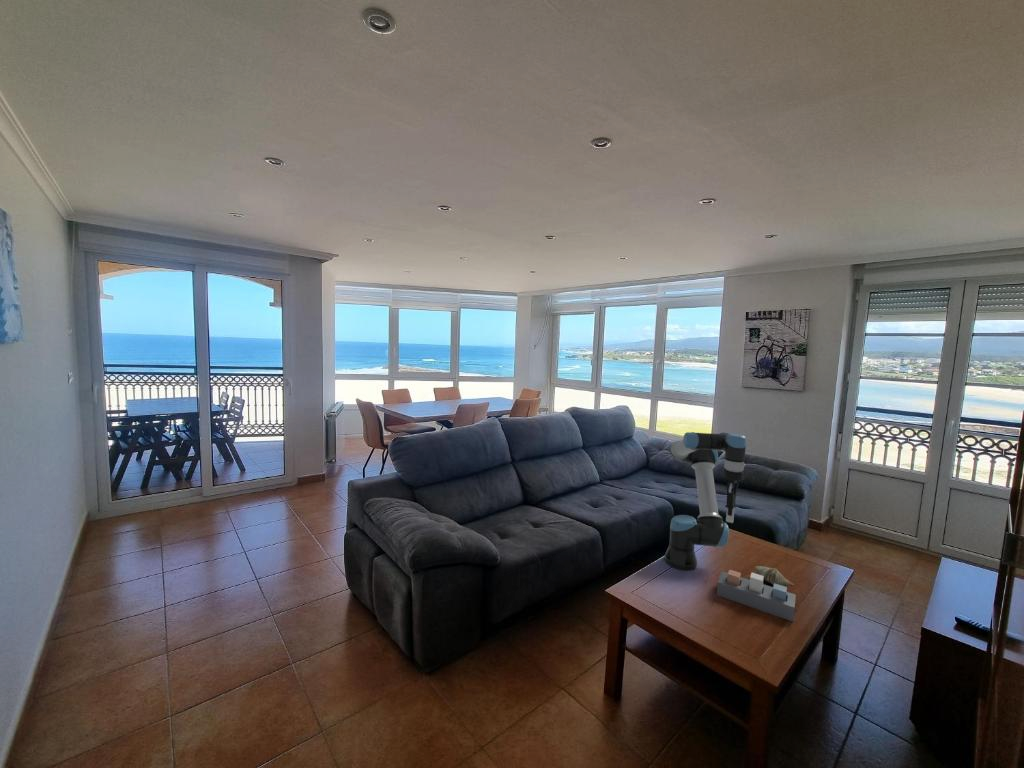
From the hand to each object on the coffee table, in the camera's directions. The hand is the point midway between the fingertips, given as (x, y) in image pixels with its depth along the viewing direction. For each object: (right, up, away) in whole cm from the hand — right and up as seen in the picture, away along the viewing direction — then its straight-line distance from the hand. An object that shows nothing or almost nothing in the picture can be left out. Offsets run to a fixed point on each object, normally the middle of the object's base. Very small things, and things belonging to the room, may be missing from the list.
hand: (729, 521), depth 181 cm
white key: (+9, -29, -4) cm, 31 cm away
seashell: (+24, -33, +8) cm, 41 cm away
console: (+9, -33, -4) cm, 35 cm away
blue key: (+16, -31, -9) cm, 36 cm away
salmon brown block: (+2, -30, +1) cm, 30 cm away
